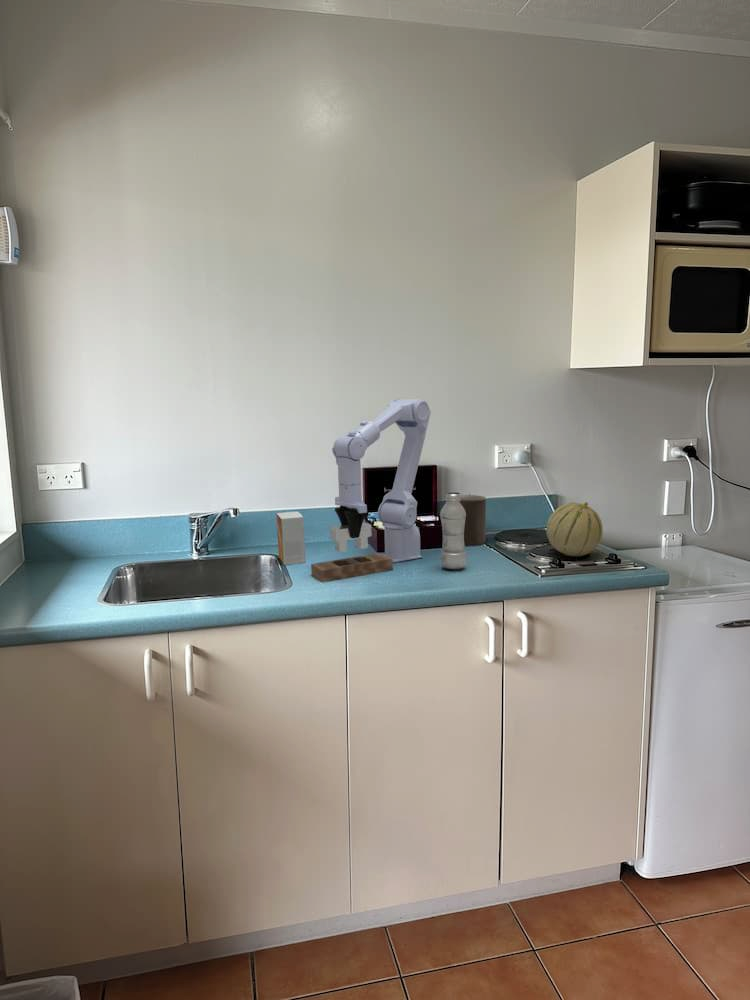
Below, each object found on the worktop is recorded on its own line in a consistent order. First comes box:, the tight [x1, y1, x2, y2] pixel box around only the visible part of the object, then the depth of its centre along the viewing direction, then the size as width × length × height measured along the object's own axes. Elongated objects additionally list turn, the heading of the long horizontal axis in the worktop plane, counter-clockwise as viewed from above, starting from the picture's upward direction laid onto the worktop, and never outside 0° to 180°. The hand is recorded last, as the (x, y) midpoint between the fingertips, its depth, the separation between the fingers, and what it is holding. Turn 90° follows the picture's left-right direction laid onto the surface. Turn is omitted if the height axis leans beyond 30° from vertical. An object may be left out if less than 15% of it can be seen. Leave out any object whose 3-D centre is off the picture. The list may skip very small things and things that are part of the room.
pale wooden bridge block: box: [329, 522, 373, 553], centre depth 180 cm, size 10×4×6 cm, turn 118°
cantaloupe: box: [545, 502, 603, 557], centre depth 192 cm, size 15×15×15 cm
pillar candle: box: [460, 492, 487, 547], centre depth 210 cm, size 10×10×15 cm
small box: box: [276, 511, 307, 566], centre depth 194 cm, size 8×6×13 cm
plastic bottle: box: [439, 491, 467, 570], centre depth 182 cm, size 6×7×20 cm
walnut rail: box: [310, 552, 394, 583], centre depth 182 cm, size 20×7×3 cm, turn 118°
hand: (351, 536), depth 180 cm, fingers closed on pale wooden bridge block, 4 cm apart
